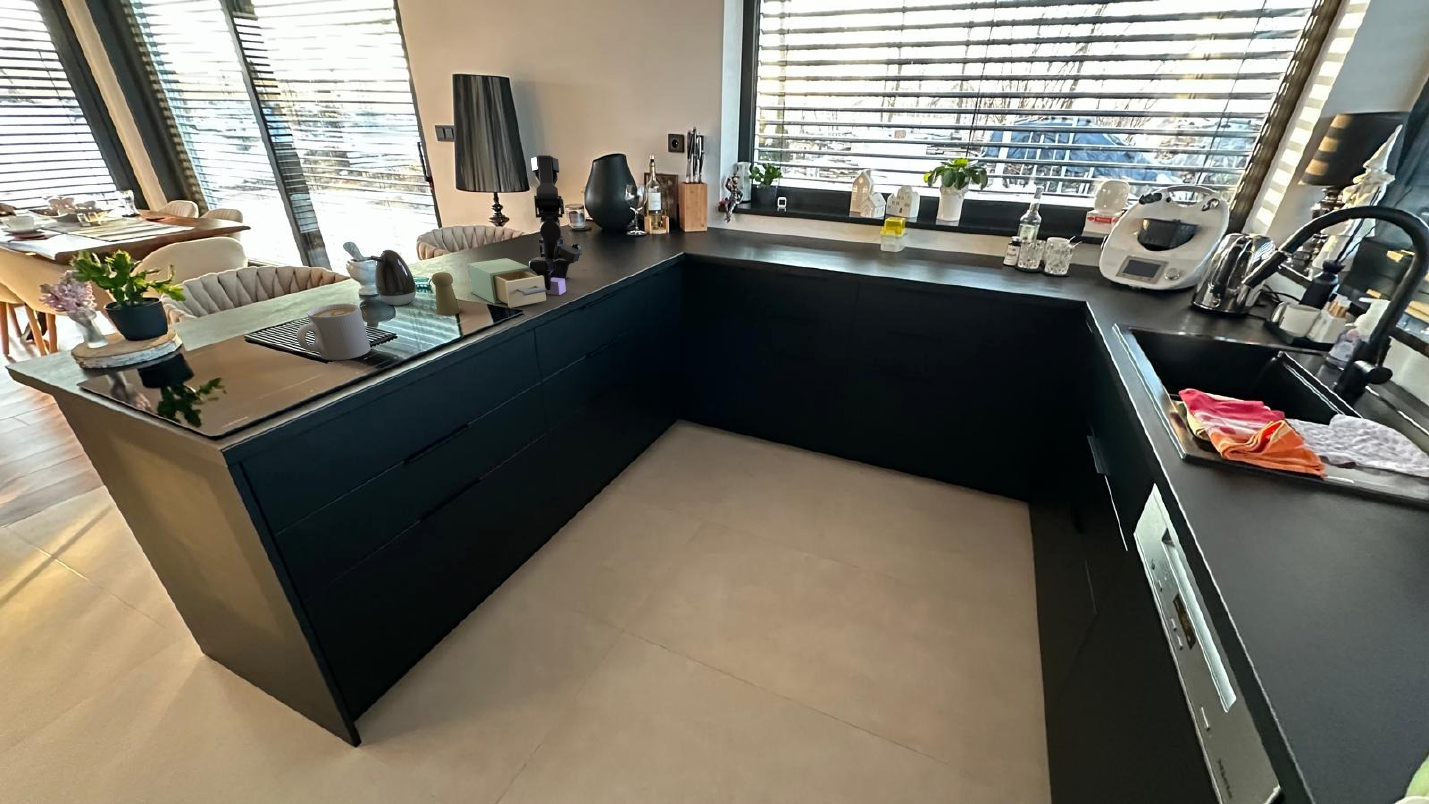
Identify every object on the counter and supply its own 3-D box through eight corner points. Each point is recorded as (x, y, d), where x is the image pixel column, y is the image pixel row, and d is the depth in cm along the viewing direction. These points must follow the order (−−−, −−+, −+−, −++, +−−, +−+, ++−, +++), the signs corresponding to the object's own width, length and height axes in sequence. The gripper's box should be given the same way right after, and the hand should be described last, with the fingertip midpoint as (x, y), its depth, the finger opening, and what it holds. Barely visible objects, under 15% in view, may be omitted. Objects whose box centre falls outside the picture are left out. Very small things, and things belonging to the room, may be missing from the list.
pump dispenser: (371, 304, 159) (357, 250, 152) (404, 295, 167) (392, 244, 160) (394, 310, 155) (381, 255, 148) (427, 301, 163) (416, 249, 156)
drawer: (554, 304, 162) (552, 279, 159) (518, 311, 155) (515, 286, 152) (523, 290, 174) (520, 267, 170) (488, 297, 166) (484, 272, 163)
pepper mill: (454, 307, 159) (448, 269, 154) (463, 312, 155) (456, 273, 150) (433, 311, 155) (425, 272, 150) (441, 316, 152) (433, 276, 147)
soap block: (554, 290, 178) (552, 277, 176) (565, 291, 177) (564, 278, 175) (547, 293, 174) (545, 280, 173) (559, 295, 174) (558, 282, 172)
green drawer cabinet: (533, 296, 171) (530, 266, 167) (494, 304, 163) (489, 273, 159) (510, 286, 180) (506, 258, 176) (472, 292, 172) (467, 263, 168)
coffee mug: (361, 340, 134) (350, 300, 129) (377, 352, 128) (366, 310, 124) (296, 355, 125) (282, 312, 120) (310, 368, 119) (296, 324, 115)
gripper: (560, 243, 158) (564, 296, 165) (589, 232, 174) (592, 281, 181) (525, 240, 160) (531, 293, 168) (557, 229, 177) (561, 278, 184)
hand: (556, 286), depth 175 cm, fingers open, 9 cm apart
